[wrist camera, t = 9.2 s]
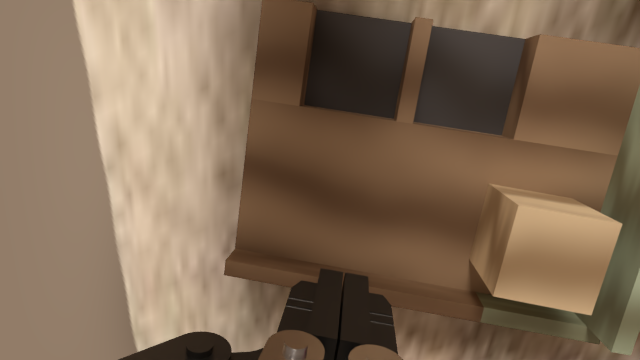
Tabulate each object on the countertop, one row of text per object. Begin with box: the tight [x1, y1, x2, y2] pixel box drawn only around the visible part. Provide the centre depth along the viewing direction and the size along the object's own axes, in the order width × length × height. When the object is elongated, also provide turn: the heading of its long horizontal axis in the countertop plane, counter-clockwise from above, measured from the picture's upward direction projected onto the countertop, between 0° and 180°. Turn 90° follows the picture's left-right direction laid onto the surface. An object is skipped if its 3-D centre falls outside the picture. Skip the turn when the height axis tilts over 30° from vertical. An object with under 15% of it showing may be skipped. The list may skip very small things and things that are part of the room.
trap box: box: [224, 0, 640, 355], centre depth 25 cm, size 17×23×7 cm
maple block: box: [469, 184, 622, 315], centre depth 23 cm, size 5×5×5 cm
